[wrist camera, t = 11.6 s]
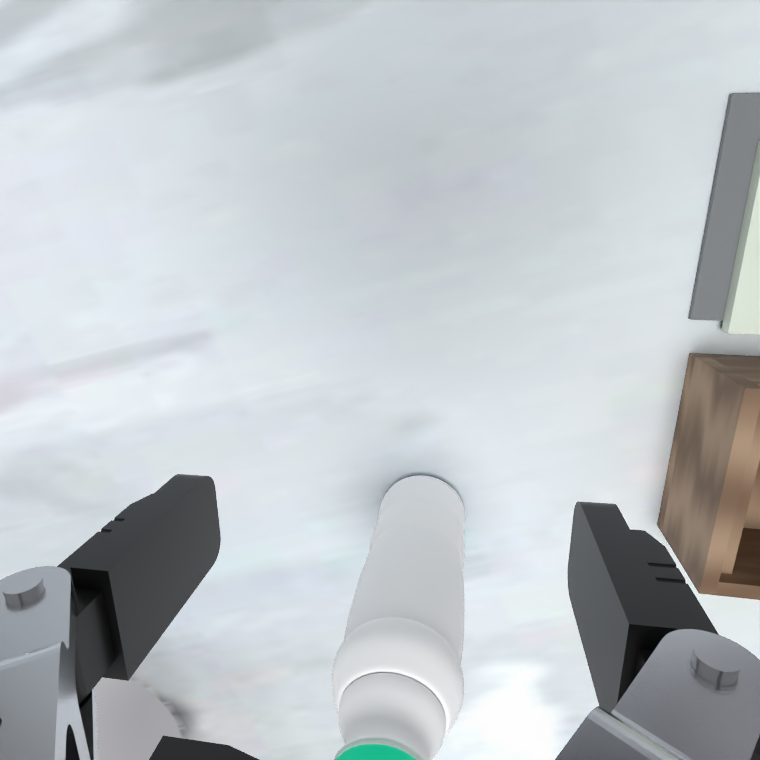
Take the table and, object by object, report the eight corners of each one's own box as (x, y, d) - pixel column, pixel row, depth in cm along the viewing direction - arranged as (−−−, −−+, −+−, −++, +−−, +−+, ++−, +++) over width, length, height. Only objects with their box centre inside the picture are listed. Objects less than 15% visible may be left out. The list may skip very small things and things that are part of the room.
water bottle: (481, 523, 44) (497, 875, 21) (412, 558, 46) (354, 914, 23) (434, 457, 43) (395, 749, 20) (365, 496, 45) (254, 803, 22)
